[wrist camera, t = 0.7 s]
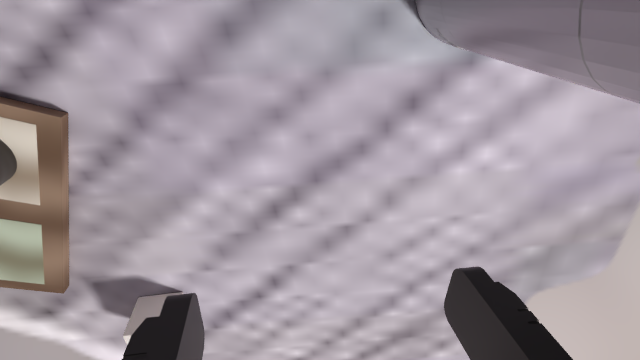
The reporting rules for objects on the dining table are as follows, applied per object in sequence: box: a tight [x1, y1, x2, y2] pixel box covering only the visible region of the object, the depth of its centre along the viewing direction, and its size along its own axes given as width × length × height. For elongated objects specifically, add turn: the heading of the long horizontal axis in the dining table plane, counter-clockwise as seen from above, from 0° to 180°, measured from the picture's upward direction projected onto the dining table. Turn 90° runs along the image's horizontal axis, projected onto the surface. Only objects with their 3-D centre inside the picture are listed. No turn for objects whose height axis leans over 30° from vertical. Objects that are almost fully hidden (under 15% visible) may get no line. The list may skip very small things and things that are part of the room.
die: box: [123, 292, 183, 345], centre depth 33 cm, size 4×4×4 cm
